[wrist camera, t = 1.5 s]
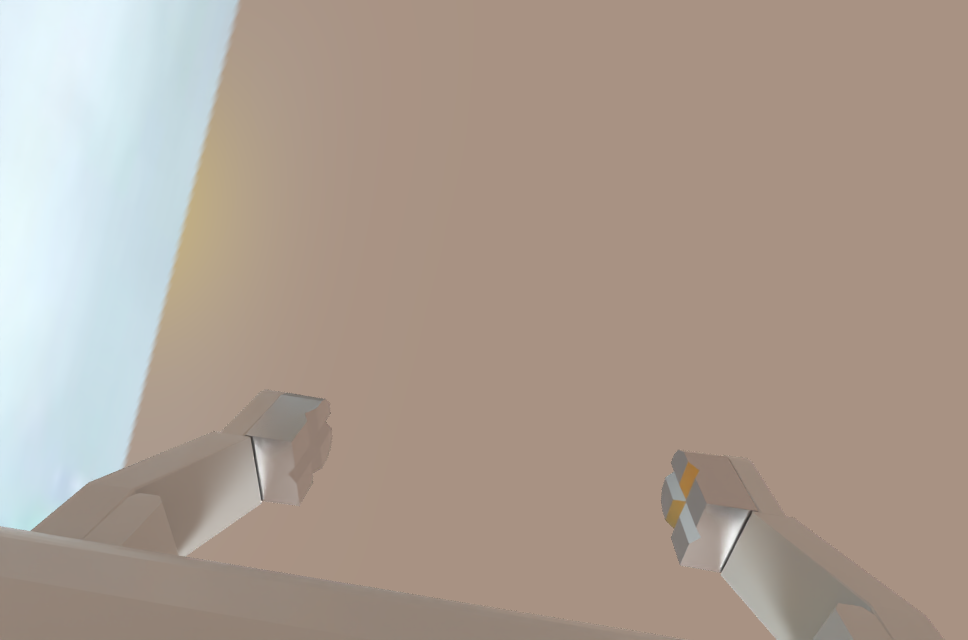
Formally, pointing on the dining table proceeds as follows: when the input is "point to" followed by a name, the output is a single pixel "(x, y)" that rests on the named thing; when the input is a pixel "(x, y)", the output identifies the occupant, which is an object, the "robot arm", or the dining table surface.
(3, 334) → the dining table surface
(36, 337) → the dining table surface
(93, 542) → the robot arm
